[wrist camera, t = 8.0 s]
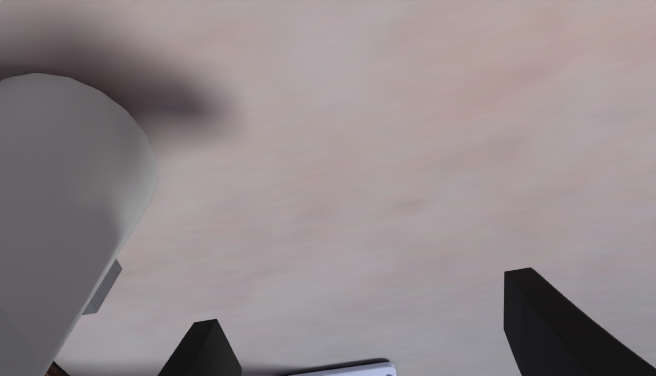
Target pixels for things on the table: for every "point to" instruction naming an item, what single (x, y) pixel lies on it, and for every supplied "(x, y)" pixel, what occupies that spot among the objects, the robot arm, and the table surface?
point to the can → (61, 208)
